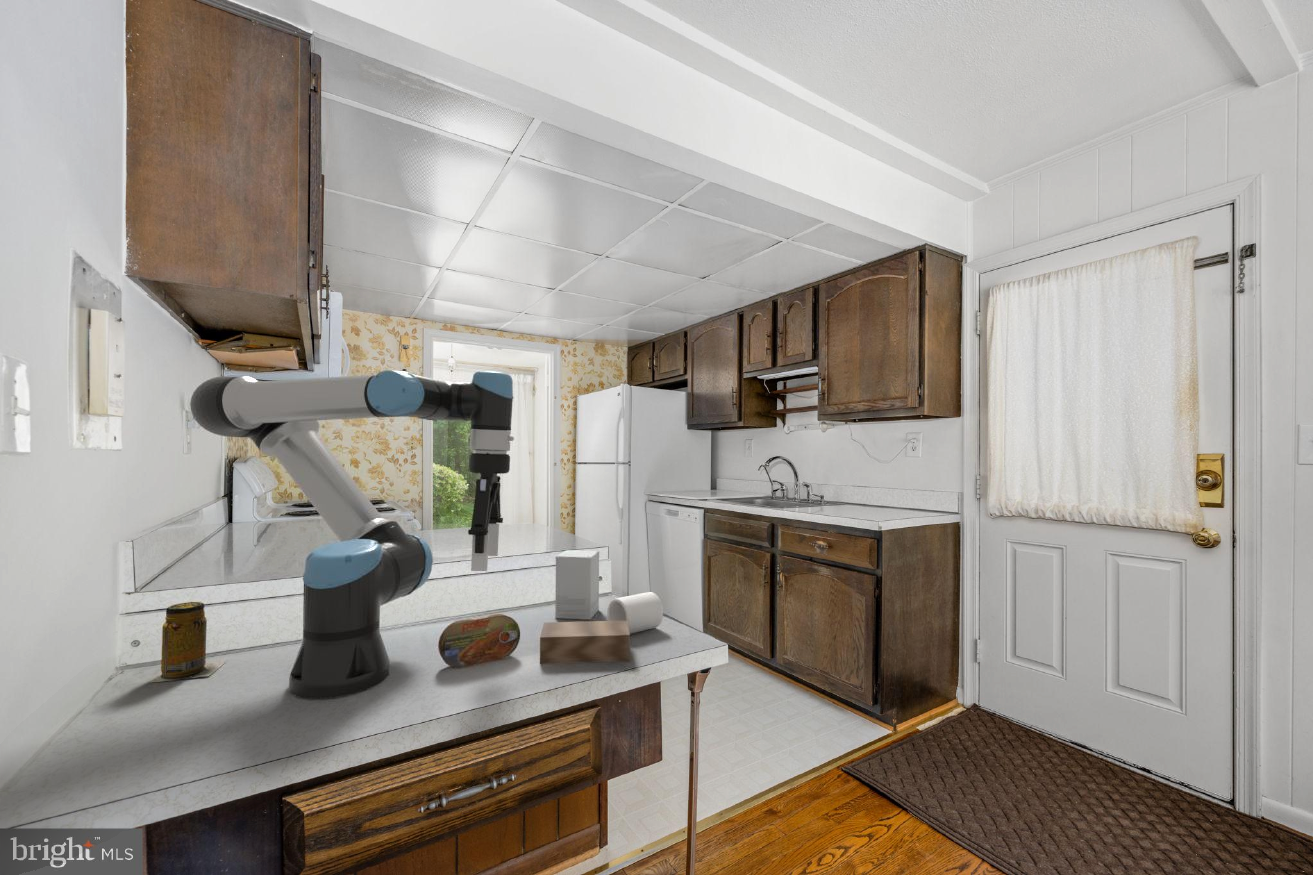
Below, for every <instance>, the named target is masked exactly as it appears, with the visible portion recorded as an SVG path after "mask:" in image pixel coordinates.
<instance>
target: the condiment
mask: <svg viewBox="0 0 1313 875" xmlns="http://www.w3.org/2000/svg"><path fill="white" fill-rule="evenodd" d="M165 615H166V616H165V622H164V623H163V625H162V630H161V634H162V635H161V636H162V637H161V638H162V639H161V642H162V643H161V660H160V663H161V667H160V670H161V673H160V674H159V675H158V676H156V677H155V678H153V679H152V680H150V681H149V683H159V682H161V683H162V682H171V681H177V680H183V679H196V678H197V679H198V678H201V677H209V676H211V675H212V674H214V673H215V672H216V671H218V670H219V669H220V667H221V666H223V665H224V664H225V663H226V661H218V662H217V661H216V662H213V661H212V662H206V659H207V657H206V656H207V654H206V653H207V627H208V626H207V622H208V621H207V617H206V613H205V603H203V602H201V601H189V602H182V603H176V604H173V605H169V606H168V607H167V608H166V610H165ZM221 668H222V667H221Z"/></svg>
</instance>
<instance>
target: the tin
mask: <svg viewBox="0 0 1313 875" xmlns="http://www.w3.org/2000/svg"><path fill="white" fill-rule="evenodd" d="M520 640H521V630H520V626H519V624H518V622H517V621H516V620H515V619H514V618H513V617H511V616H508V615H506V614H502V613H495V614H489V615H485V616H479V617H473V618H467V619H460V620H455V621H454V622H452V623H450V624H449V625H447V626H446V627H445V629H444V630H443V631H442V632H441V634H440V636H439V639H438V644H437V646H438V652H439V655H440V657H441V659H442V661H443V662H444V663H445V664H446V665H447V666H450V667H451V668H455V669H462V668H463V667H464V668H468V667H473V666H477V665H481V664H482V665H483V664H486V663H491V662H492V663H493V662H496V661H500V660H501V661H502V660H504V659H506V658H508V657H509V656H511V655H512V654H513V653H514V652H515V650H516V649H517V647H518V645H519V643H520ZM464 668H463V669H464Z"/></svg>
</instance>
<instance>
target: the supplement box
mask: <svg viewBox="0 0 1313 875" xmlns="http://www.w3.org/2000/svg"><path fill="white" fill-rule="evenodd" d="M554 601H555V602H554V603H555V612H554V615H555V616H554V618H555V619H565V620H566V619H568V620H584V621H585V620H586V621H587V620H588V621H591V620H592V618H593V617H594V616H595V615H596V614H597V613H598V611H599V609H600V551H599V550H574V549H573V550H569V549H567V550H565V551H563V552H561V553H559V554H557V555H556V556H555V600H554Z"/></svg>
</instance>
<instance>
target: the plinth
mask: <svg viewBox="0 0 1313 875" xmlns="http://www.w3.org/2000/svg"><path fill="white" fill-rule="evenodd" d="M630 639H631V634H630V633H629V629H628V624H627V621H608V620H595V621H591V620H588V621H558V622H557V621H556V622H555V621H553V622H551V621H549V622H543V625H542V629H541V632H540V637H539V664H540V665H547V664H548V665H551V664H553V665H554V664H578V663H579V664H581V663H584V664H585V663H610V662H612V663H613V662H614V663H615V662H630V656H631V652H630V650H631V648H630V647H631V645H630V644H631V640H630Z"/></svg>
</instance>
